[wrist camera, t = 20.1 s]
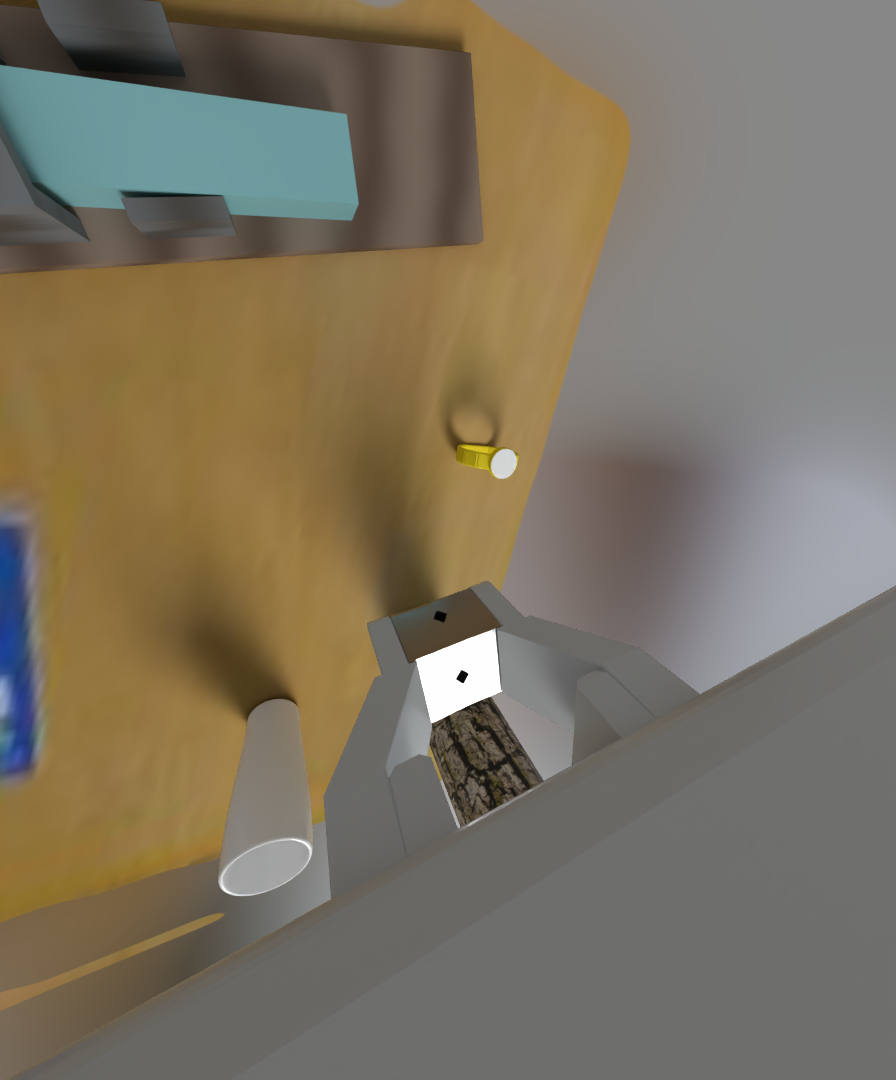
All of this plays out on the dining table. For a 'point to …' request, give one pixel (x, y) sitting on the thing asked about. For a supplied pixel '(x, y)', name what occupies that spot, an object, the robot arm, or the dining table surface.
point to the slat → (175, 146)
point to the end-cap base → (258, 75)
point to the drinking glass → (268, 805)
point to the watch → (488, 459)
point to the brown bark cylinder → (480, 759)
